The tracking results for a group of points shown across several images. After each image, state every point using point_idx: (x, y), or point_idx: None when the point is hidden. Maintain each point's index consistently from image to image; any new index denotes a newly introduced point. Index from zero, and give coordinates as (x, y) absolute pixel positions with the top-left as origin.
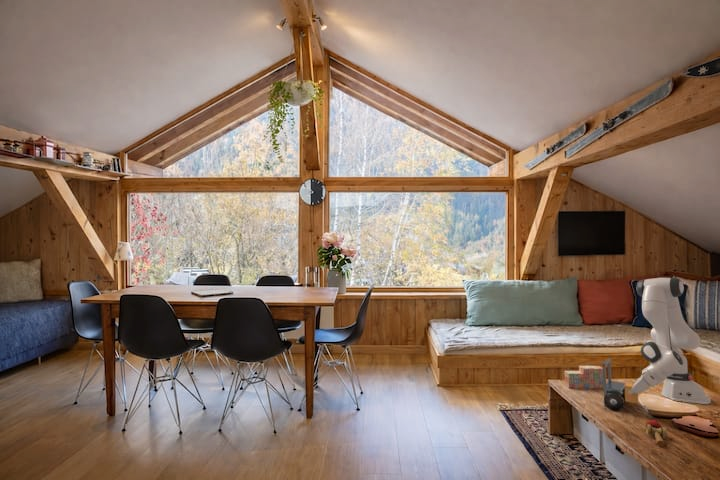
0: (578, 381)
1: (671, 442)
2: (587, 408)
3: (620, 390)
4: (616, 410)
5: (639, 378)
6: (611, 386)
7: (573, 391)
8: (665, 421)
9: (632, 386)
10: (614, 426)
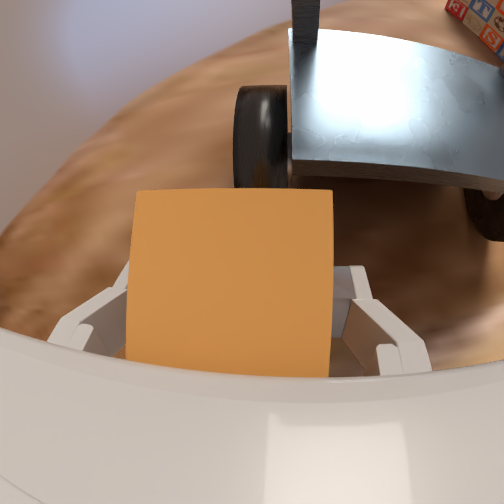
0: (488, 15)
1: None
2: (209, 73)
3: (293, 161)
4: None
5: (491, 450)
6: (371, 73)
7: (426, 15)
8: None
9: (151, 324)
10: (27, 238)
